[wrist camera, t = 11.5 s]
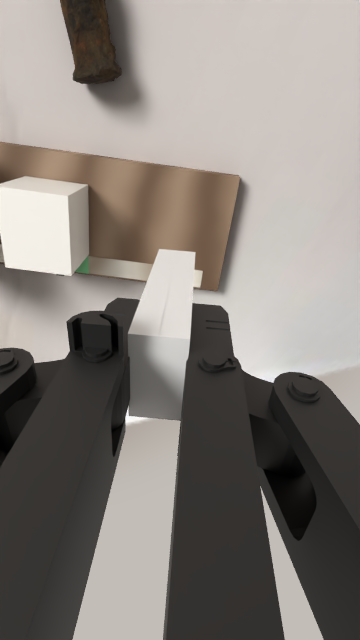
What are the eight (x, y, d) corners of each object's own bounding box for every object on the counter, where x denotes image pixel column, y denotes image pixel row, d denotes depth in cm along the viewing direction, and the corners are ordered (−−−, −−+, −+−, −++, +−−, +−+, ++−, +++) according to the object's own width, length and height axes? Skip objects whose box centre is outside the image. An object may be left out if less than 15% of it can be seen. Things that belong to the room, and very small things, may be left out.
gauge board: (238, 175, 33) (253, 191, 24) (216, 285, 39) (222, 328, 30) (-71, 131, 32) (-164, 133, 23) (-44, 252, 38) (-110, 287, 29)
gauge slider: (88, 184, 32) (67, 196, 27) (89, 276, 37) (72, 300, 32) (-6, 171, 32) (-46, 180, 26) (7, 265, 36) (-23, 288, 31)
